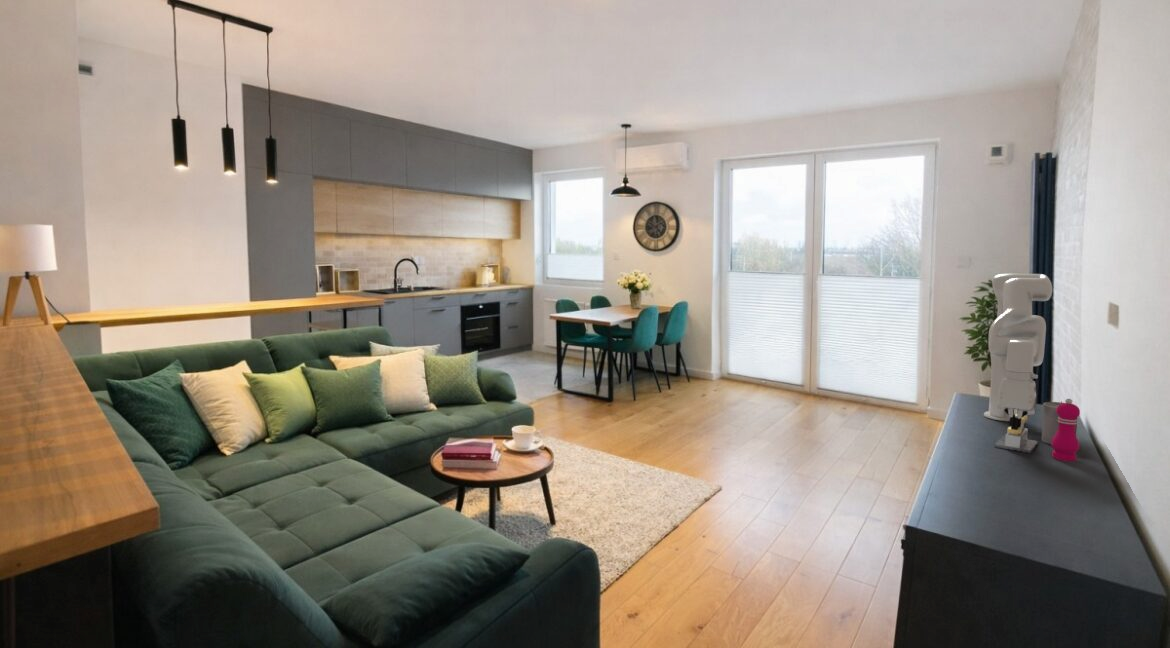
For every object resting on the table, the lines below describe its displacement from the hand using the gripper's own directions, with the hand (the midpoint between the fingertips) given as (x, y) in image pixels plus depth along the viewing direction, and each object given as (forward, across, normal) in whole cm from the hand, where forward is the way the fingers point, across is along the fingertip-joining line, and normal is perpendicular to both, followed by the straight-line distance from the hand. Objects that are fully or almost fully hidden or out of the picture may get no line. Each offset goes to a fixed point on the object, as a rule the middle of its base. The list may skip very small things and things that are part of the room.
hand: (1014, 428), depth 209 cm
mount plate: (+7, 0, -5) cm, 9 cm away
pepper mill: (+7, -14, +1) cm, 16 cm away
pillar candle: (+7, -10, -18) cm, 22 cm away
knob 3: (+3, 0, -5) cm, 6 cm away
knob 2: (+3, 0, -9) cm, 10 cm away
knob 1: (+6, 0, 0) cm, 6 cm away
